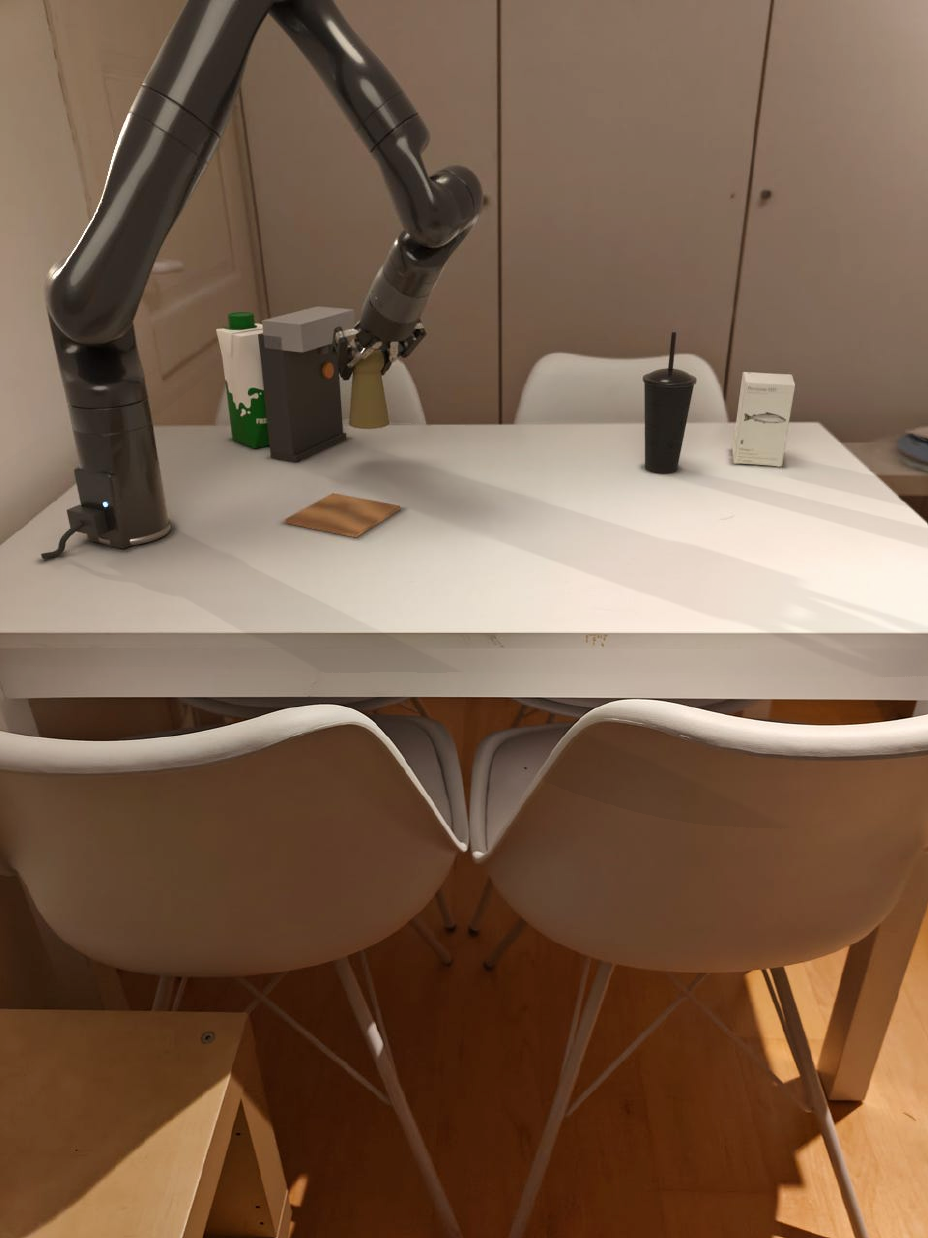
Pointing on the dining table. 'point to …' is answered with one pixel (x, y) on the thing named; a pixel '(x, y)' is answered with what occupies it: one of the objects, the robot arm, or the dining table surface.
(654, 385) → the drinking cup
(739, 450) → the white packaging box
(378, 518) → the coaster
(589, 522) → the dining table surface
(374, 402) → the pepper shaker
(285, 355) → the coffee machine
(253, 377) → the milk carton
